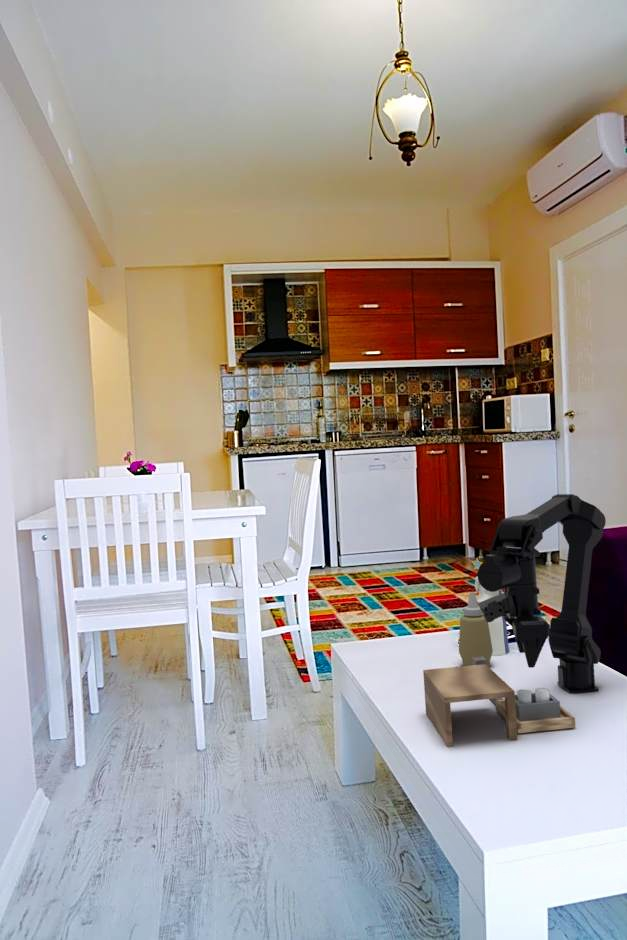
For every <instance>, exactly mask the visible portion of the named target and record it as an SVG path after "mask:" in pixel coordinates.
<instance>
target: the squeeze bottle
mask: <svg viewBox="0 0 627 940" xmlns="http://www.w3.org/2000/svg"><path fill="white" fill-rule="evenodd" d="M477 599H478V598H477V595H476V593H475V591H474V592H473V591H470V592H469V595H468V602H467V606H464V607H463V614H462V616H461V617H460V618H459V639H458V643H459V644H458V653H459V655H460V658H461V660H462V663H463V666H472V658H473V657H484V658H485V659H486V660H487V666H488V667H489V666H490V662H491V659H492V652H493V649H492V643H491V637H490V631H489V625H488V622H486V620H485V618H484V616H483V614H482V612H481V610H480V607H479V605H478V604H479V603H478V602H477Z"/></svg>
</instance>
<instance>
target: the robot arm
mask: <svg viewBox="0 0 627 940" xmlns="http://www.w3.org/2000/svg"><path fill="white" fill-rule="evenodd" d="M558 523H559V524H560V525H562V535H563V536H564V538H565V541H566V543H567V544H568V551H567V559H566V560H567V561H566V569H565V578H564V587H563V595H562V604H561V611H560V612H559V613H558V615H557V616H556V617H552V618H551V619H550V622H547V620H546V619H544V617H542V616H541V614H542V611H541V609H540V607H539V599H538V598H539V596H538V595H539V594H540V588H539V587H538V585H537V583H538V582H537V570H536V569H537V568H536V558H537V557H540V556H541V552H540V551H539V550H537V549H536V548H535V547H536V546H537V545H539V543H541V541H542V540H543V539H544V535H543V534H544V532H546V531H547V530H548V529H550V528H551V527H554V526H555V525H556V524H558ZM605 526H606V515H604V513H603V512H602V511H601V510H600V509H599V508H598V507H597V506H595V505H594V504H591V503H589V502H587V501H586V500H585V501H584V500H583V499H581V497H579V496H578V495H577V494H576V495H575V494H574V493H573V494H572V493H557V494H554V495H553V496H551V498H550V499H548V500H547V501H545V502H544V503H543V504H541V505H539V506H537V507H535V508H534V509H532V510H531V511H529V512H526V513H525V514H521V515H512V516H509V517H506V518H502V520H501V521H500V522H499V523H498V526H497V529H496V531H495V535H494V538H493V539H492V540H493V541H492V543H491V545H490V549H489V554H485V556H484V560H485V561H484V562H482V564H481V565H480V567H479V569H477V573H476V574H477V576H478V580H479V583H480V584H481V586H482V587H483V588H484V589H485V590H487V591H490V592H494V591H498V590H501V589H502V590H503V593H502V594H500V595H497V596H494V597H492V598H489V599H487V600H484V601H482V602H480V603H478V606H479V607H480V610H481V612H482V614H483V616H484V618H485V620H486V622H492V621H494V619H496V618H499V617H501V616H503V618H504V619H505V620H506V623H508V624H509V625H510V626H511V628H512V631H513V635H514V638H515V642H516V646H517V649H518V652H519V653H521V654H522V653H523V654H524V656H525V660H526V664H527V667H528V668H535V667H536V664H537V662H538V659H539V657H540V654H541V652H542V649H543V647H544V646H545V643H546V640H547V639H548V644H549V648H550V651H551V655H552V658H553V659H559V665H557V673H558V674H557V678H558V680H557V684H558V685H559V686H560V687H562V688H563V689H564V690H565V691H566V692H568V693H569V694H575V693H576V694H577V693H588V692H594V691H595V692H596V691H599V690H600V688H599V687H598V686H597V685H596V681H595V665H597V664H599V661H600V660H601V652H602V650H601V649H600V647H599V646H598V644H597V643H596V642H595V640H593V629H592V626H591V623H590V622H589V620H588V618H587V616H586V615H587V607H588V605H587V604H588V594H589V586H590V585H589V584H590V575H591V568H592V556H593V550H594V548H595V547H596V546H597V545H598V543H599V542H600V541H601V539H602V537H603V533H604V528H605ZM477 576H476V577H477Z"/></svg>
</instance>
